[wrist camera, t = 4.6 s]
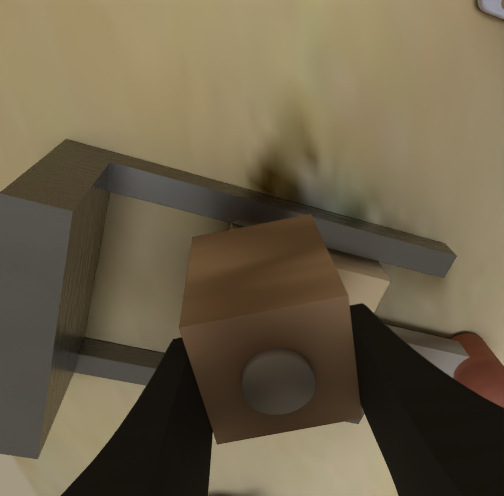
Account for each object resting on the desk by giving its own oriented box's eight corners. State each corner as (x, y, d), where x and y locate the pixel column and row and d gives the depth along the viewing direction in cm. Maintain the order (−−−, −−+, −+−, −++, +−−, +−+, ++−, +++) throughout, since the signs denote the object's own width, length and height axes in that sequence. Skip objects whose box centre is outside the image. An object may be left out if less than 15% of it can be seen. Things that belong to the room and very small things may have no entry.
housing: (310, 213, 15) (352, 305, 10) (324, 312, 17) (366, 430, 12) (192, 237, 15) (176, 338, 10) (219, 332, 17) (216, 457, 12)
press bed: (522, 295, 22) (578, 349, 19) (445, 407, 26) (480, 469, 22) (231, 220, 20) (233, 266, 16) (188, 356, 23) (182, 418, 20)
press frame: (445, 243, 21) (519, 321, 16) (352, 407, 26) (386, 509, 20) (66, 139, 18) (-1, 192, 12) (40, 347, 23) (-17, 451, 17)
